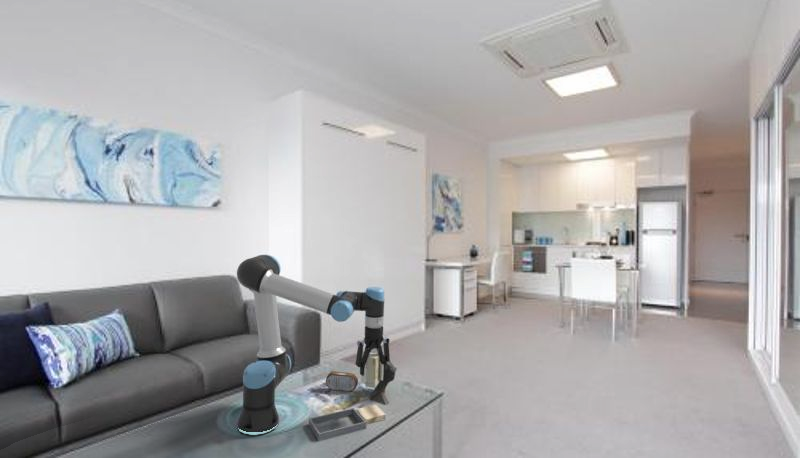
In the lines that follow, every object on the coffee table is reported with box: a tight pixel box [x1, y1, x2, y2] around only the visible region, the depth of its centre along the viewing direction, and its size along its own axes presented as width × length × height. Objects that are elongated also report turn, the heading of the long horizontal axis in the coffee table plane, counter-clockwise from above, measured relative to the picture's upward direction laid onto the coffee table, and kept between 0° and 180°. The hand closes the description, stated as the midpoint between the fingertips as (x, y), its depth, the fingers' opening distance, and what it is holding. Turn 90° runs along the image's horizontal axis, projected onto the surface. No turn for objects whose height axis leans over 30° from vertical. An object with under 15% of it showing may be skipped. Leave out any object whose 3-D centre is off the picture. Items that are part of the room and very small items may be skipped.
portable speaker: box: [325, 371, 359, 393], centre depth 190 cm, size 15×3×8 cm, turn 84°
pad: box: [355, 404, 386, 425], centre depth 168 cm, size 9×9×2 cm
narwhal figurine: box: [369, 360, 398, 406], centre depth 188 cm, size 14×15×18 cm
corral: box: [308, 407, 367, 442], centre depth 159 cm, size 19×12×2 cm, turn 120°
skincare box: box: [364, 352, 380, 389], centre depth 167 cm, size 6×4×12 cm
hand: (372, 380), depth 167 cm, fingers closed on skincare box, 7 cm apart
